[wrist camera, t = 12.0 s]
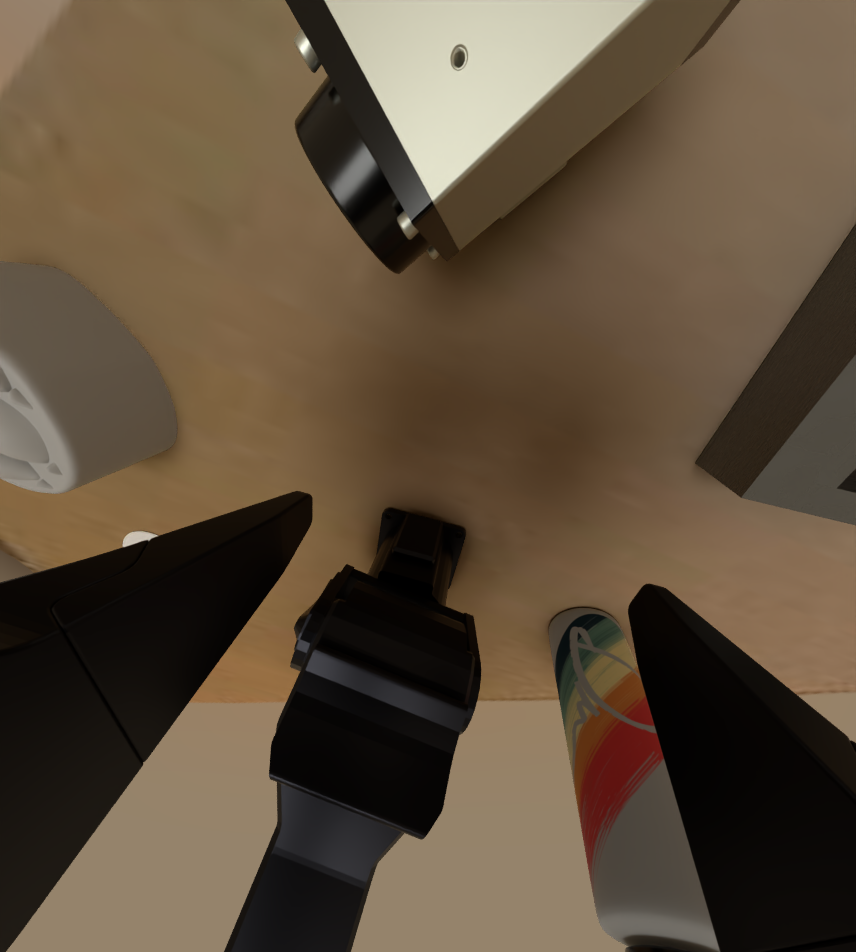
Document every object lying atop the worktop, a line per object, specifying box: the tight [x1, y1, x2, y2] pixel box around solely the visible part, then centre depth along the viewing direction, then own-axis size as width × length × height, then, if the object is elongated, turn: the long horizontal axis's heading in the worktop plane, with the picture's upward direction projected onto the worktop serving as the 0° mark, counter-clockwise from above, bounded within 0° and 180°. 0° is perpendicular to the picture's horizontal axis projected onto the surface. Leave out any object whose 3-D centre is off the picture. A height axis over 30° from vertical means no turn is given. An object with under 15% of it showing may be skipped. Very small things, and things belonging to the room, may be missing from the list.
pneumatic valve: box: [286, 0, 740, 274], centre depth 9 cm, size 6×12×12 cm, turn 124°
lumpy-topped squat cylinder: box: [0, 261, 177, 494], centre depth 20 cm, size 10×13×9 cm
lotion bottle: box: [549, 608, 720, 952], centre depth 18 cm, size 6×6×20 cm
